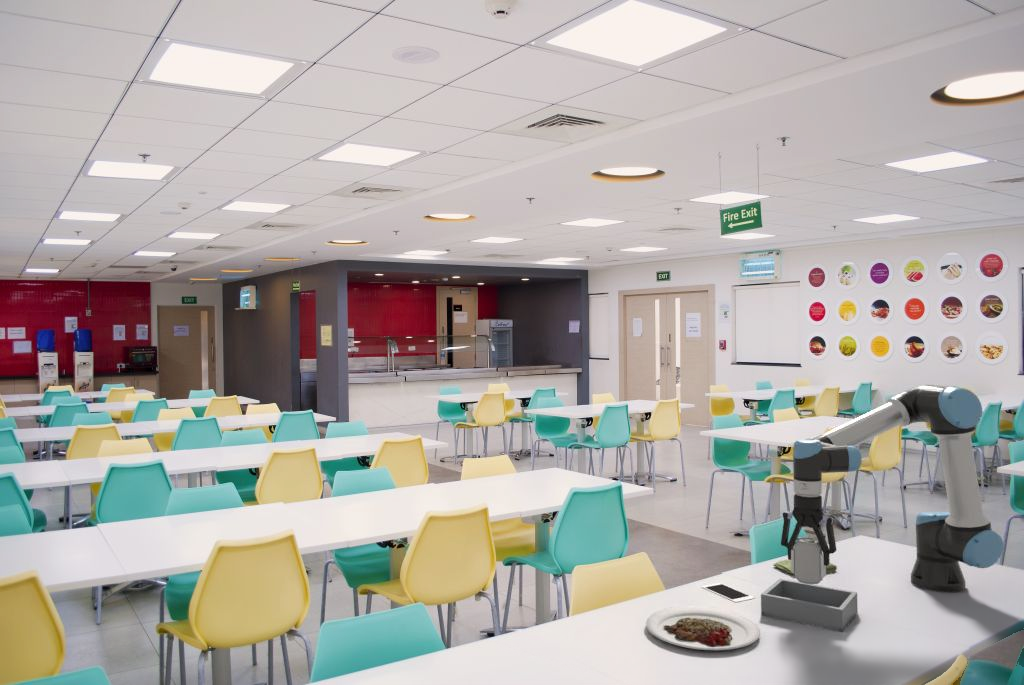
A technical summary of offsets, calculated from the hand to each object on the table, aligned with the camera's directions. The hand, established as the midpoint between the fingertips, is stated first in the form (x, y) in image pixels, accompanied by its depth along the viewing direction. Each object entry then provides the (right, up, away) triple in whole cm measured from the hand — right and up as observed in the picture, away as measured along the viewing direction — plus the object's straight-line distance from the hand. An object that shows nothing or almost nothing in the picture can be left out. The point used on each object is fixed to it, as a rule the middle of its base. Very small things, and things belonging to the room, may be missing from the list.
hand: (808, 573), depth 215 cm
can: (0, -2, 0) cm, 2 cm away
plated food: (-33, -13, -11) cm, 38 cm away
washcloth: (+15, -12, +41) cm, 45 cm away
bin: (0, -12, 0) cm, 12 cm away
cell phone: (-18, -13, +19) cm, 29 cm away
